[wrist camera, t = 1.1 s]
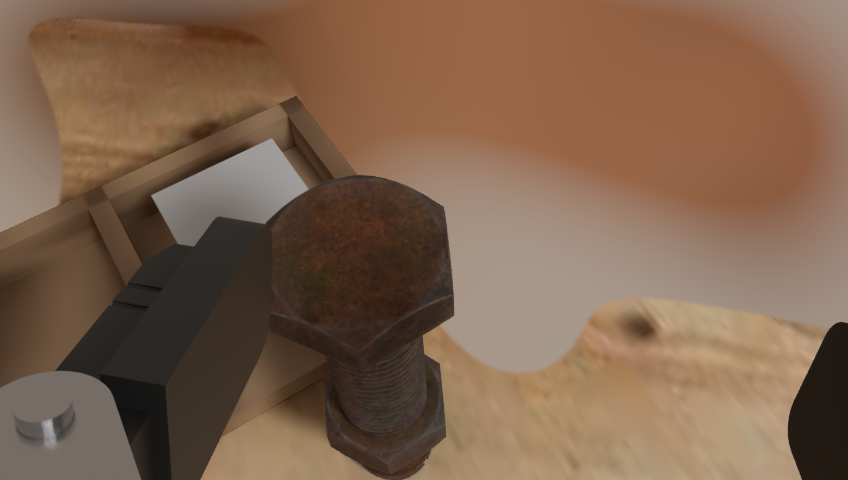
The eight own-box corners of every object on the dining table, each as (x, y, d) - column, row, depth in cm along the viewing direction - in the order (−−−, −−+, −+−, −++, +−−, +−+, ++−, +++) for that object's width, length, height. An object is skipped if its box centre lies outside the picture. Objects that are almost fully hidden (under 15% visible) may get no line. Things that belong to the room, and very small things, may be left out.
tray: (307, 141, 43) (296, 95, 41) (444, 324, 36) (443, 285, 34) (-103, 339, 37) (-150, 301, 34) (-31, 604, 30) (-82, 585, 27)
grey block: (287, 191, 40) (271, 138, 37) (345, 274, 37) (333, 224, 34) (177, 245, 38) (151, 195, 35) (228, 337, 35) (204, 291, 32)
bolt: (367, 538, 31) (305, 377, 19) (305, 437, 34) (215, 238, 21) (485, 456, 33) (498, 259, 21) (417, 366, 35) (394, 143, 23)
